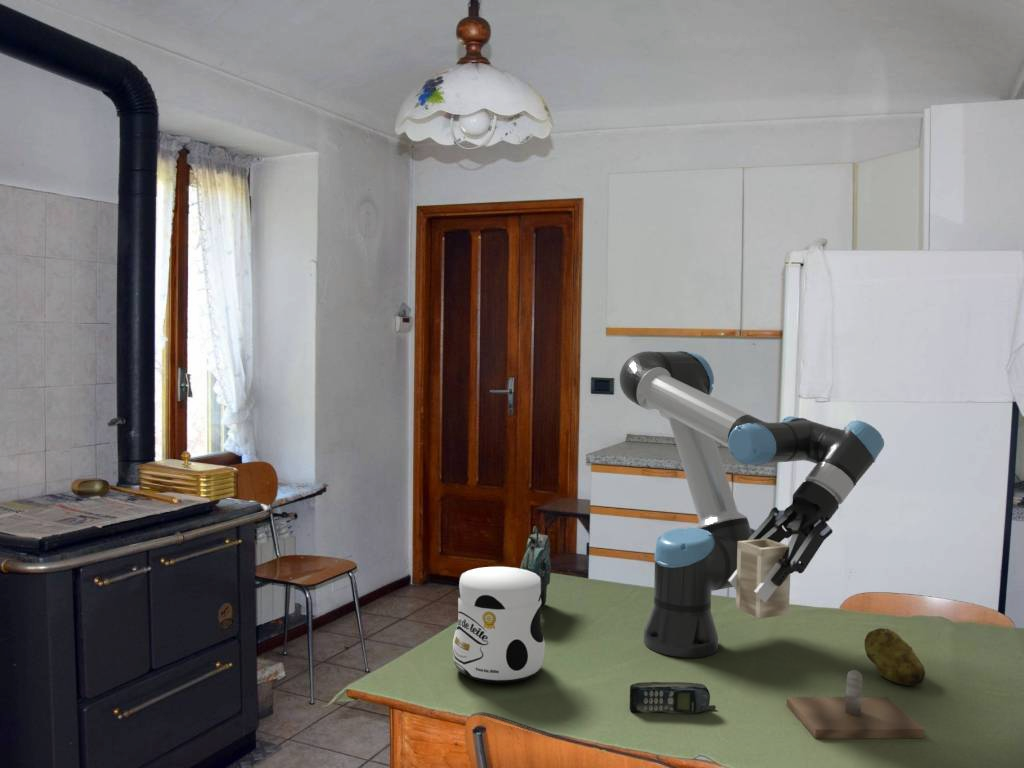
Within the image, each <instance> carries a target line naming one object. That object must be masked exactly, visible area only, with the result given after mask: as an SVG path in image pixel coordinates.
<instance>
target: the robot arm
mask: <svg viewBox="0 0 1024 768" xmlns="http://www.w3.org/2000/svg"><path fill="white" fill-rule="evenodd" d="M714 383H715V379H714V372H713V369H712V367H711V365H710V364H709V362H708V361H707V360H706V358H704V357H703V356H702V355H699V354H697V353H696V352H695V353H694V352H689V351H683V350H679V351H678V350H677V351H653V350H652V351H650V350H649V351H641V352H638V353H635V354H633V355H632V356H630V357H628V359H627V360H626V361H625V362H624V363H623V365H622V367H621V370H620V373H619V384H620V385H619V386H620V389H621V391H622V392H623V394H624V395H625V397H626V398H627V399H628V400H630V401H631V402H633V403H634V404H636V405H637V406H640V407H641V408H644V409H645V410H649V411H650V410H657V411H659V413H660V416H661V417H662V418H665V419H667V420H668V421H669V424H670V427H671V431H672V434H673V437H674V442H675V445H676V447H677V451H678V454H679V457H680V462H681V465H682V468H683V472H684V475H685V478H686V481H687V482H686V483H687V485H688V488H689V492H690V495H691V496H690V497H691V498H692V502H693V505H694V509H695V512H696V515H697V519H698V523H697V524H696V527H687V528H685V527H684V528H683V527H681V528H674V529H671V530H670V529H669V530H667V531H665V532H663V533H662V534H660V535H659V536H658V538H657V540H656V542H655V543H656V545H655V551H654V554H653V555H654V556H653V557H654V582H653V591H654V592H653V606H652V608H651V611H650V613H649V616H648V618H647V619H648V620H647V622H646V625H645V628H644V630H643V643H644V644H645V646H646V647H647V648H648V649H650V650H652V651H654V652H656V653H660V654H662V655H666V656H671V657H677V658H686V659H687V658H689V659H690V658H691V659H692V658H702V657H708V656H711V655H714V654H715V653H716V652H717V651H718V650H719V635H718V632H717V631H718V630H717V629H716V624H715V622H714V617H713V614H712V611H711V609H712V592H713V591H714V592H715V591H718V590H725V589H730V588H734V589H735V590H736V587H737V546H738V541H745V540H756V539H770V540H773V541H776V542H779V543H782V541H783V540H785V539H790V541H789V542H788V544H787V545H788V546H789V548H788V549H787V550H786V552H785V554H784V557H783V559H779V562H780V563H781V564H782V565H780V564H779V563H775V565H774V566H773V567H772V569H771V570H770V571H769V573H768V574H767V575H766V576H765V578H764V579H763V580H762V582H761V583H760V584H759V586H758V587H757V588H756V589H755V591H754V592H755V593H756V594H757V595H758V597H759V598H760V599H761V600H762V601H763V602H765V603H766V601H767V600H768V599H769V597H770V596H771V595H772V593H773V592H774V591H775V589H776V588H777V587H778V586H780V585H781V584H782V583H783V582H784V581H785V579H786V578H787V577H788V575H789V574H790V575H791V574H793V573H795V572H797V573H798V574H803V573H804V572H805V570H806V568H807V567H808V566H809V564H810V562H811V561H812V560H813V558H814V556H815V555H816V554H817V552H818V551H819V549H820V547H821V546H822V544H823V543H824V542H825V540H826V539H828V537H829V536H831V535H832V534H833V529H832V528H831V527H830V526H829V524H828V523H827V522H829V521H830V520H831V519H832V517H833V516H834V514H836V512H837V511H838V510H839V505H842V504H843V503H844V501H845V499H847V497H848V496H849V494H850V493H851V492H852V491H853V489H854V488H855V487H856V485H857V483H858V482H859V481H860V479H861V478H862V477H863V476H864V475H865V473H866V472H867V471H868V470H869V469H870V467H871V466H872V465H873V464H874V463H875V462H876V460H877V458H878V456H879V455H880V454H881V452H882V450H884V446H885V440H884V438H883V436H882V434H881V433H880V432H879V430H877V429H876V428H875V427H874V426H873V425H871V424H870V423H867V422H865V421H862V420H851V421H850V422H849V423H847V424H846V425H845V426H844V428H843V429H840V428H837V427H831V426H829V425H824V424H821V423H818V422H815V421H812V420H809V419H807V418H805V417H796V416H794V415H793V416H786V417H785V418H784V419H782V420H780V421H779V422H767V421H763V420H761V419H759V418H758V417H755V416H753V415H751V414H749V413H747V412H744V411H743V410H741V409H738V408H737V407H734V406H733V405H731V404H728V403H726V402H725V401H722V400H719V398H715V397H714V396H712V395H711V394H712V392H713V389H714V387H713V385H714ZM717 443H719V444H721V445H723V446H724V447H726V448H728V450H729V451H728V452H729V453H730V454H731V455H732V457H733V458H734V460H735V461H736V462H737V463H739V464H742V465H746V466H747V465H751V466H762V465H766V464H775V463H785V462H786V463H787V462H799V461H807V462H810V463H813V464H816V465H814V466H813V468H812V470H811V471H809V473H808V475H807V476H806V477H805V480H804V481H803V482H802V483H801V484H800V485H799V487H798V488H797V489H796V490H795V491H794V492H793V495H792V502H791V504H790V505H788V507H786V508H785V509H784V510H781V509H780V510H779V509H778V507H772V509H770V512H769V513H768V516H767V517H766V518H765V520H764V521H763V522H762V523H761V524H760V525H759V526H758V527H757V528H756V529H755V528H751V526H750V523H749V520H748V516H746V515H744V514H743V513H741V512H740V511H739V510H738V508H737V505H736V502H735V499H734V495H733V492H732V489H731V485H730V483H729V479H728V476H727V473H726V469H725V467H724V464H723V460H722V456H721V454H720V450H719V447H718V444H717Z"/></svg>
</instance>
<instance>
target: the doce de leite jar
mask: <svg viewBox="0 0 1024 768" xmlns="http://www.w3.org/2000/svg"><path fill="white" fill-rule="evenodd" d="M458 582H459V584H458V589H457V590H458V591H457V593H458V599H457V601H458V602H457V604H458V605H457V606H458V607H457V609H458V610H457V611H458V612H457V613H458V617H457V625H456V628H455V632H454V635H453V639H452V656H453V657H452V658H453V663H454V665H455V667H456V669H457V670H458V671H459V672H460V673H461V674H463V675H465V676H467V677H468V678H470V679H472V680H476V681H479V682H486V683H492V684H503V683H504V684H505V683H506V684H508V683H514V682H520V681H524V680H526V679H528V678H531V677H533V676H534V675H535V674H537V673H539V671H540V670H541V669H542V665H543V663H544V658H545V652H546V644H545V638H544V633H543V629H542V624H541V623H542V621H541V619H542V618H541V617H542V615H541V614H542V608H541V603H542V602H541V580H540V577H539V576H538V575H537V574H536V573H533V572H531V571H528V570H524V569H520V568H518V567H512V566H511V567H510V566H487V567H485V566H484V567H477V568H473V569H469V570H467V571H464V572H462V573H461V575H460V577H459V581H458Z"/></svg>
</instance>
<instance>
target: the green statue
mask: <svg viewBox="0 0 1024 768" xmlns="http://www.w3.org/2000/svg"><path fill="white" fill-rule="evenodd" d="M532 532H533V533H532V534H530V535H529V536H527V537H528V539H527V542H526V551H525V553H524V555H523V558H522V560H521V564H520V568H519V569H524V570H528V571H531V572H533V573H536V574H537V575H538V576H539V577H540V580H541V602H542V603H541V609H544V608H545V605H546V602H547V590H548V586H549V585H550V583H551V582H550V581H551V574H552V573H551V572H552V571H551V568H552V564H551V543H550V536H549V535H547V534H541V533H540V532H539V526H537V525H534V526H533V528H532Z"/></svg>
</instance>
